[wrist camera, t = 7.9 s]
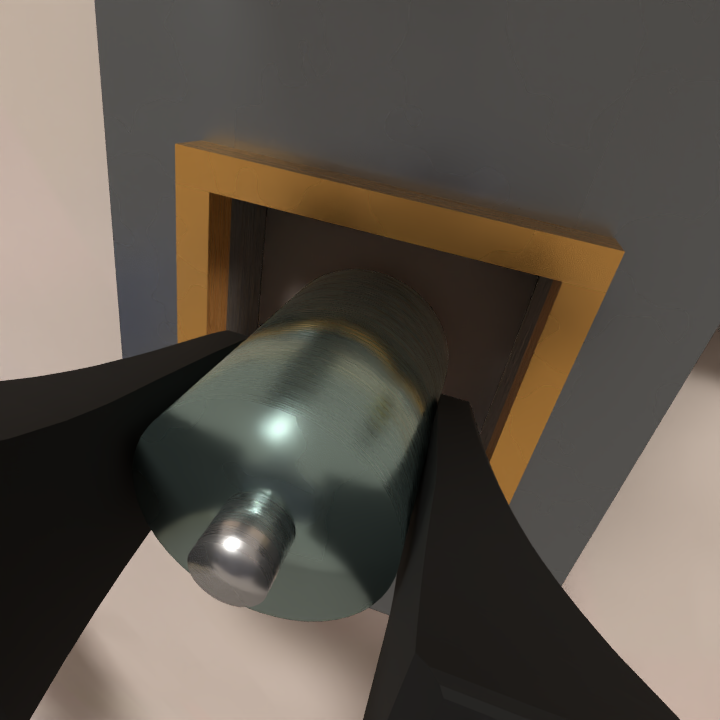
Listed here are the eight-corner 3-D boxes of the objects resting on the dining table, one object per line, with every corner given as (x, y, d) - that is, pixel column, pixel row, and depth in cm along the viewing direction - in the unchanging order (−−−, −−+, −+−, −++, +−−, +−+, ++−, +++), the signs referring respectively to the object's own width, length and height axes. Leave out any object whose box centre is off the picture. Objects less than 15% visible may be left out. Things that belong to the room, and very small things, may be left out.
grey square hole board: (600, 638, 17) (615, 732, 15) (168, 484, 20) (116, 541, 17) (1044, 29, 8) (1281, -3, 6) (150, -110, 11) (38, -175, 8)
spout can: (432, 440, 13) (367, 716, 7) (281, 404, 14) (111, 625, 8) (464, 287, 11) (408, 499, 5) (283, 255, 12) (56, 405, 6)
